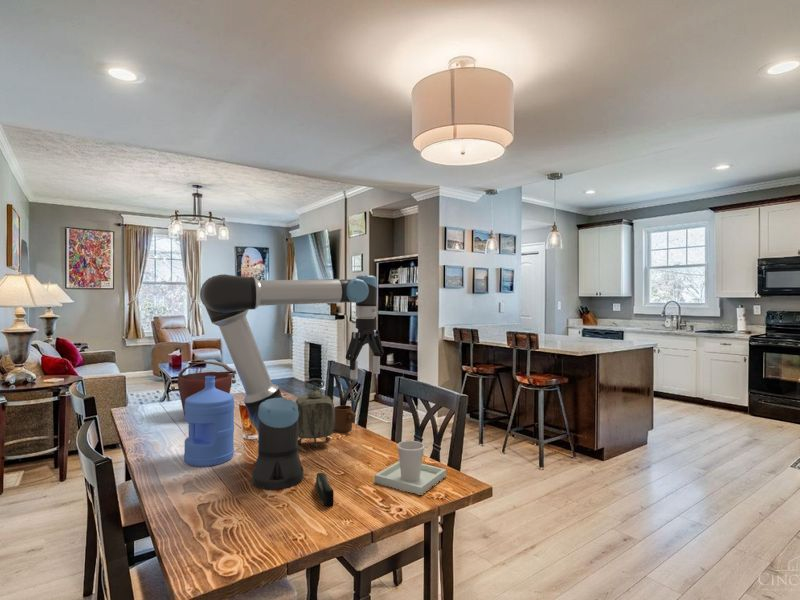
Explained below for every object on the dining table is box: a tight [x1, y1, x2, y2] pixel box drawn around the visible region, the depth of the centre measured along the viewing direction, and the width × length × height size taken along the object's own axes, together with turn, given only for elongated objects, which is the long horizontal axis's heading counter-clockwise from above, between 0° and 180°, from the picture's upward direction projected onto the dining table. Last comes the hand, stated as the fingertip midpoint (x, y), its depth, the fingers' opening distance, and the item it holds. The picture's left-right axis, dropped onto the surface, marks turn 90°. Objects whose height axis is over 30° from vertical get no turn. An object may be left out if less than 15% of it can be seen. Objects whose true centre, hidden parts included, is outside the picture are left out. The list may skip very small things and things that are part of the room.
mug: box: [334, 405, 356, 433], centre depth 185 cm, size 12×8×9 cm, turn 40°
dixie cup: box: [396, 440, 425, 481], centre depth 137 cm, size 8×8×10 cm
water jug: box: [183, 376, 235, 467], centre depth 152 cm, size 16×16×28 cm
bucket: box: [177, 361, 236, 417], centre depth 204 cm, size 24×22×25 cm
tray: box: [374, 460, 447, 496], centre depth 137 cm, size 16×16×2 cm
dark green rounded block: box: [314, 472, 335, 508], centre depth 126 cm, size 5×3×15 cm
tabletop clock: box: [295, 377, 335, 448], centre depth 167 cm, size 14×9×25 cm, turn 108°
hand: (365, 376), depth 164 cm, fingers open, 13 cm apart
